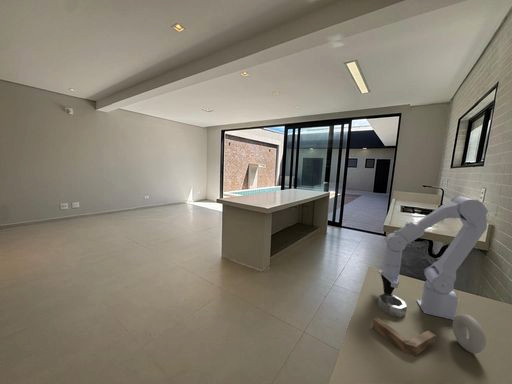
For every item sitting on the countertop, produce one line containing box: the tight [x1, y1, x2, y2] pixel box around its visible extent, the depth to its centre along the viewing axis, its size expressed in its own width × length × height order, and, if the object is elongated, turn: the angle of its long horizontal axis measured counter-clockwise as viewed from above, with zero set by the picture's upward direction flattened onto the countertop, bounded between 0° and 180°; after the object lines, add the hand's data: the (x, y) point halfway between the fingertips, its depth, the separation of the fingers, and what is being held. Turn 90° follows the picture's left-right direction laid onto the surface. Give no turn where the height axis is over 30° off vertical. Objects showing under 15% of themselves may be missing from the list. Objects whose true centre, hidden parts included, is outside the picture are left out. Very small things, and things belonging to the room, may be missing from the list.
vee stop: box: [372, 317, 436, 357], centre depth 65 cm, size 17×9×3 cm, turn 70°
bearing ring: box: [377, 292, 408, 319], centre depth 80 cm, size 8×8×4 cm
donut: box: [452, 313, 487, 354], centre depth 64 cm, size 10×4×10 cm, turn 168°
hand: (387, 294), depth 87 cm, fingers closed
